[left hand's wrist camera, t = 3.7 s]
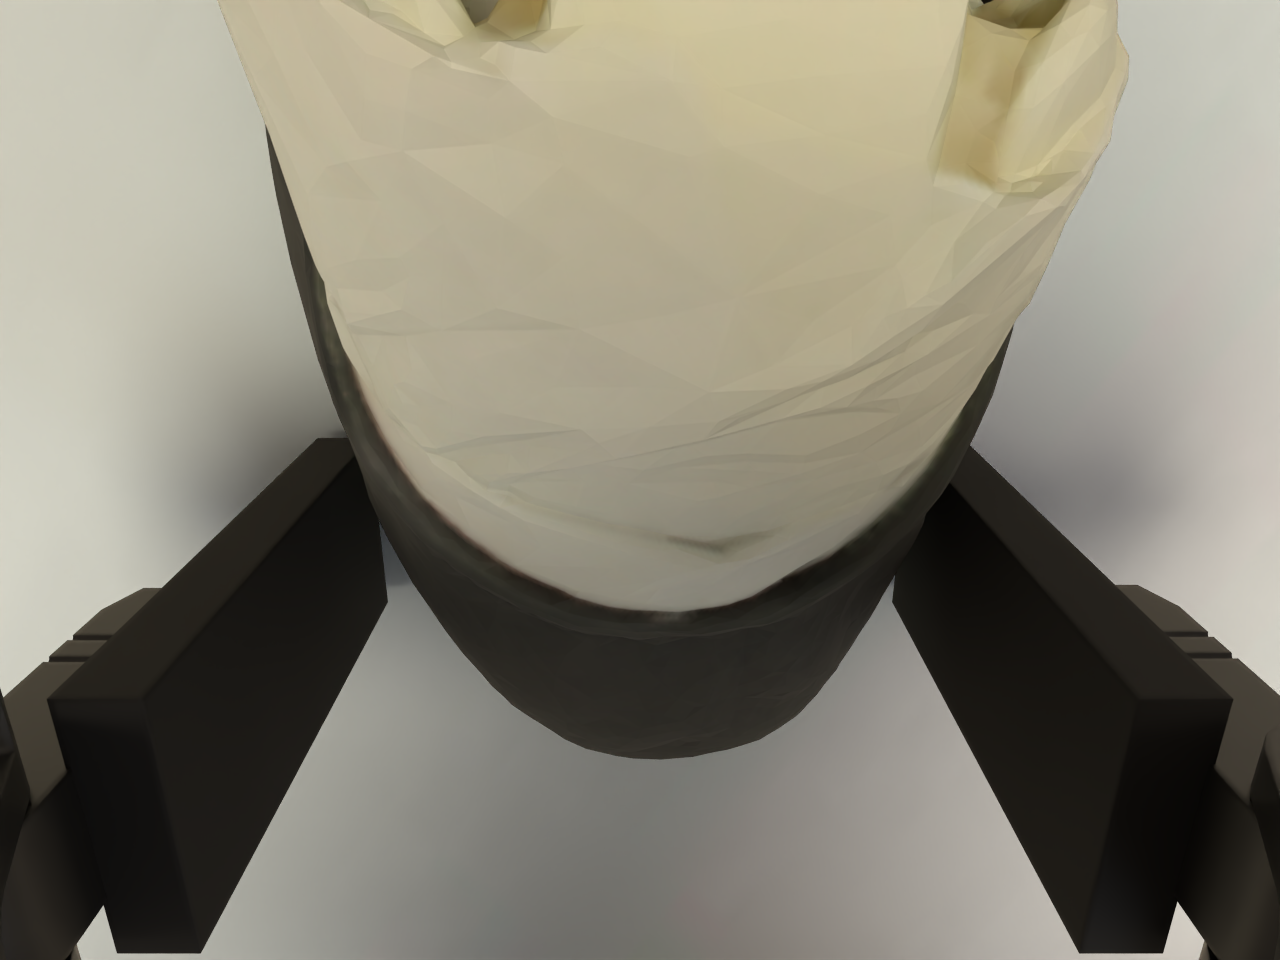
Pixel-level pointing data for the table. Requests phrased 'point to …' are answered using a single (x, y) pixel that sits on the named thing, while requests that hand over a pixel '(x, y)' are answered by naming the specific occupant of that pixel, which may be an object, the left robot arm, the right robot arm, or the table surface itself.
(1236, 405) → the table surface
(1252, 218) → the table surface
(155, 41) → the table surface
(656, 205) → the dark grey shoe
